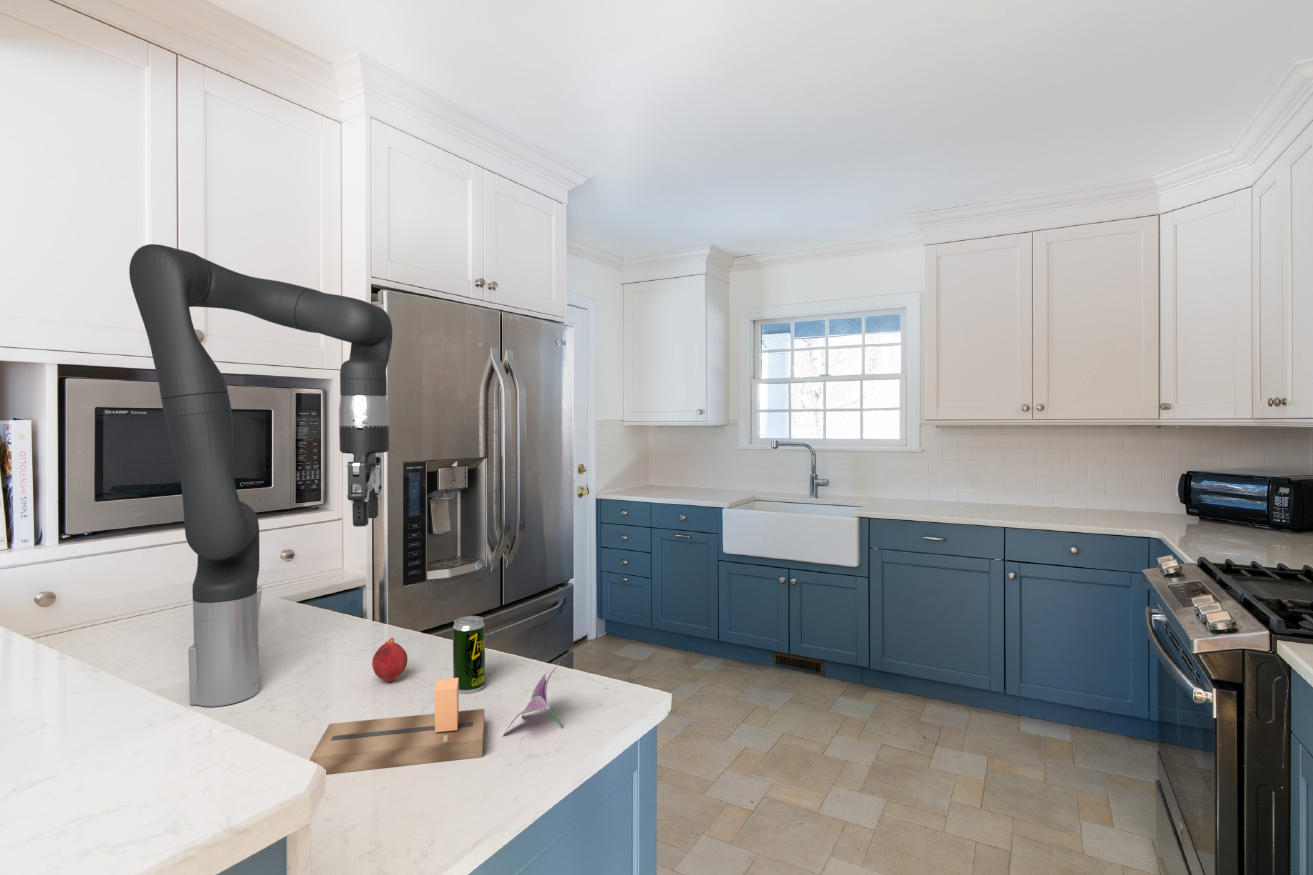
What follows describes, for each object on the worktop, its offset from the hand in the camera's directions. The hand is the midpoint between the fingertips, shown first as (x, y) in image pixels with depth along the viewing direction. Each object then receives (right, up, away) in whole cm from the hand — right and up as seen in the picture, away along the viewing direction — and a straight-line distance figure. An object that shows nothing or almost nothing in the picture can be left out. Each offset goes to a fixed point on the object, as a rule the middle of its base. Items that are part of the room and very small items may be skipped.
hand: (366, 521), depth 111 cm
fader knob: (+18, -28, -14) cm, 36 cm away
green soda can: (+15, -30, +6) cm, 34 cm away
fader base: (+12, -31, -15) cm, 36 cm away
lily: (+29, -31, -8) cm, 43 cm away
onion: (0, -30, +9) cm, 31 cm away
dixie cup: (-43, -29, +35) cm, 63 cm away
